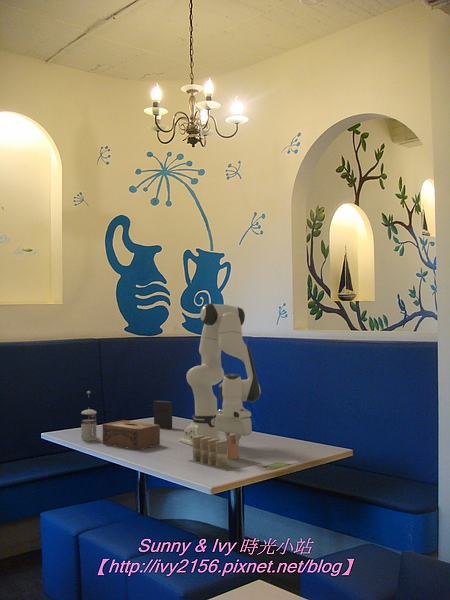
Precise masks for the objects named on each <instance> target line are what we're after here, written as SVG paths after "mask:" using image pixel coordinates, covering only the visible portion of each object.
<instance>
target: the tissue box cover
mask: <svg viewBox="0 0 450 600" xmlns="http://www.w3.org/2000/svg"><path fill="white" fill-rule="evenodd" d="M160 432H161V428H160V425H156V424H154V423H147V422H140V421H132V420H125V419H122V420H118V421H113V422H112V421H111V422H107V423H102V444H103V445H107V444H109V446H113V445H116V446H115V447H119V446H122V447H121V448H125V447H128V448H127V449H131V448H134V449H133V450H137V449H140V450H143V449H142V448H144V449H147V448H146V447H149V448H151V447H150V446H153V447H156V446H155V445H157V446H160V445H161V435H160V434H161V433H160ZM159 444H160V445H159Z"/></svg>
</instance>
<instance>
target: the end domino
mask: <svg viewBox="0 0 450 600" xmlns="http://www.w3.org/2000/svg"><path fill="white" fill-rule="evenodd" d="M235 439H236V436H235V434H230V436H227V438H226V441H227V455H228V459H229V460H231V459H236V458H240V456H239V454H240V452H239V451H240V450H239V449H240V448H239V444H234V440H235Z"/></svg>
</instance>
